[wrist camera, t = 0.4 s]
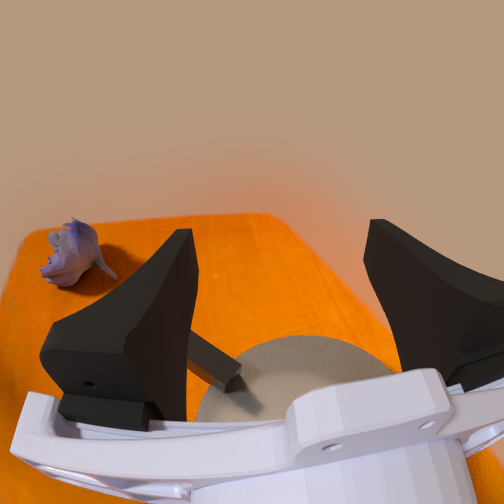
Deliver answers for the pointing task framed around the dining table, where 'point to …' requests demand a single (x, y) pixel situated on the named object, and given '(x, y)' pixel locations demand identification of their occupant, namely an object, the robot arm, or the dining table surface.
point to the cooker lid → (273, 375)
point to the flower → (73, 254)
